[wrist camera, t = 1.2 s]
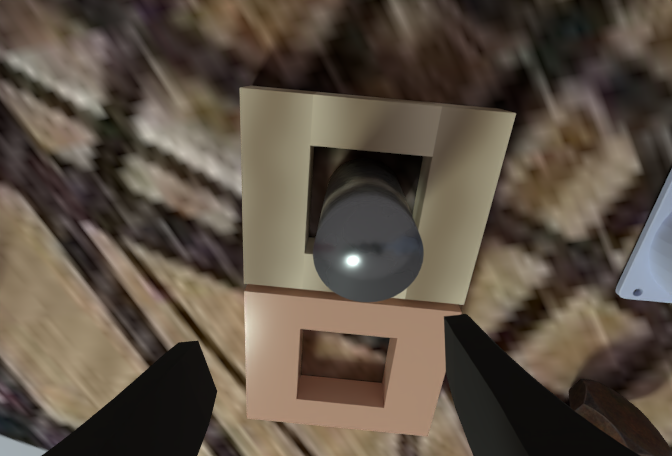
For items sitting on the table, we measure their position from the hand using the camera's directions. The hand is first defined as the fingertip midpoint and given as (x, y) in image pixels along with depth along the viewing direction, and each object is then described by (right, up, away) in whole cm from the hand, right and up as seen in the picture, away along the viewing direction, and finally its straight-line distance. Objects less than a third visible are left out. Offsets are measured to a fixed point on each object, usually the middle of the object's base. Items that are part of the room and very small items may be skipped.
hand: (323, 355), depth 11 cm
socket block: (+1, -4, +13) cm, 14 cm away
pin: (+2, +5, +9) cm, 11 cm away
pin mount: (+2, +5, +9) cm, 11 cm away
